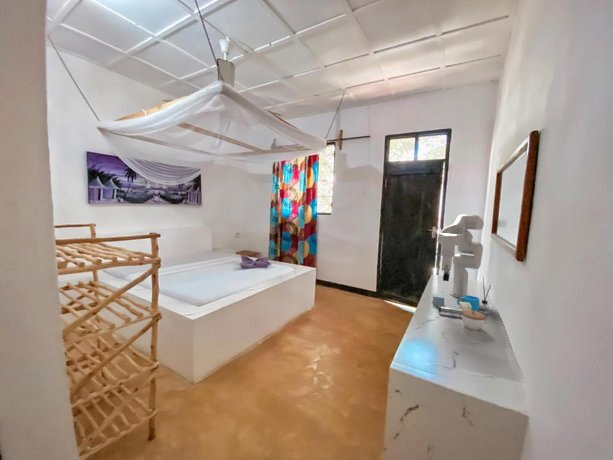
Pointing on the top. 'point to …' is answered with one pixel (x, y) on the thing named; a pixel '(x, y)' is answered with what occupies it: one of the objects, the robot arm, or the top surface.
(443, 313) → the rail plate
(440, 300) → the block
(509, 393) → the top surface
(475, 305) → the mug
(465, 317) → the lidded jar
